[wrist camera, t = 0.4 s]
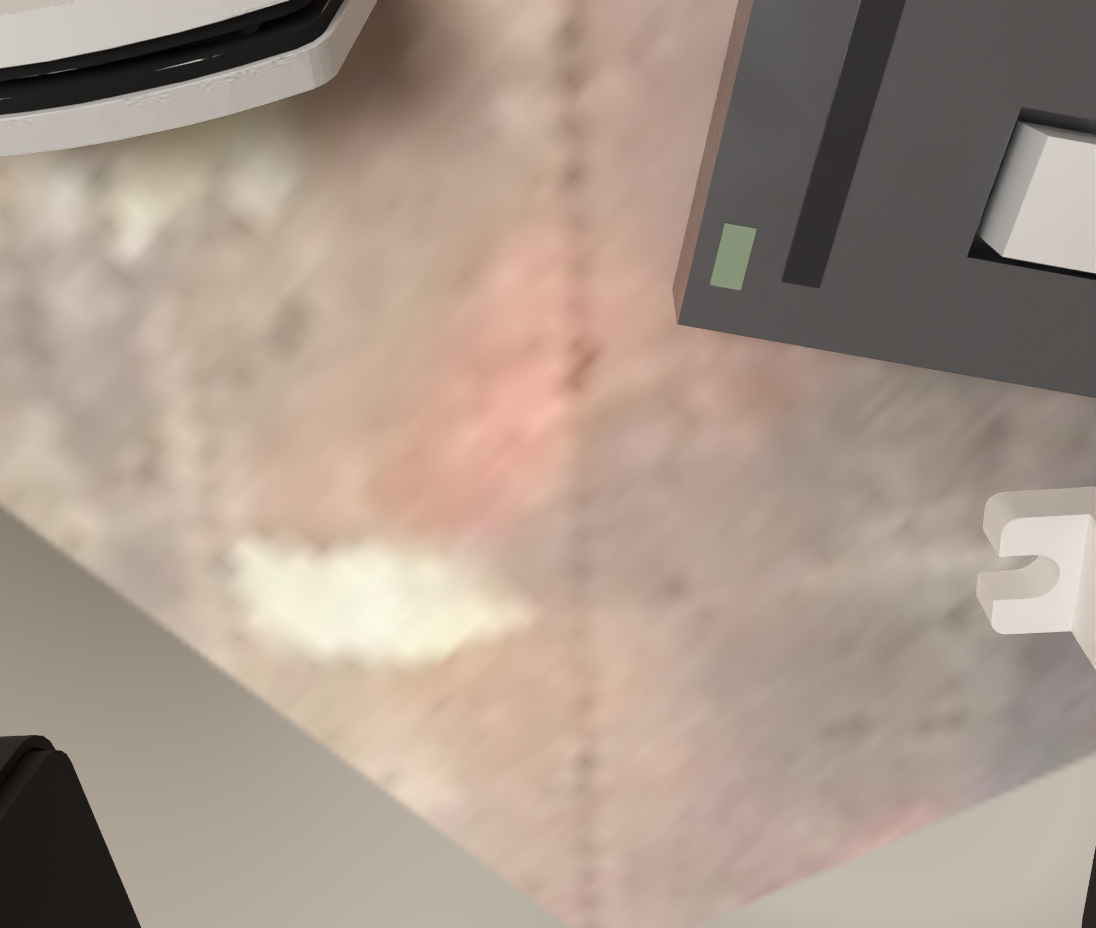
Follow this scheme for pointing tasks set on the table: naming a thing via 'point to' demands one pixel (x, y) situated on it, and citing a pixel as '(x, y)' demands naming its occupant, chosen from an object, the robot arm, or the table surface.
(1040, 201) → the grey key
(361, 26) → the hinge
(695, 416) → the table surface
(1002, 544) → the cable organizer
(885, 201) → the control panel
